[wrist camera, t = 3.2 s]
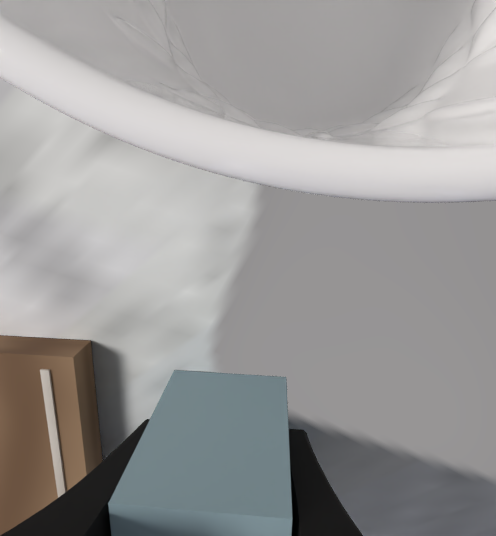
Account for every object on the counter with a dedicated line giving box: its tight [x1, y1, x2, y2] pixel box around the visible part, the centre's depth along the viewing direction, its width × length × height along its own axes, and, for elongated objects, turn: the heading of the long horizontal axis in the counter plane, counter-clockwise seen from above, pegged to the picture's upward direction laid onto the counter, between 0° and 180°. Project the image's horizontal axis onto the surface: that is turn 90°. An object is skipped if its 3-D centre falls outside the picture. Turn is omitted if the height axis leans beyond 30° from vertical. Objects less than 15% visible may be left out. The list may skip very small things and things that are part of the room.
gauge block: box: [108, 370, 292, 536], centre depth 11 cm, size 4×4×6 cm
